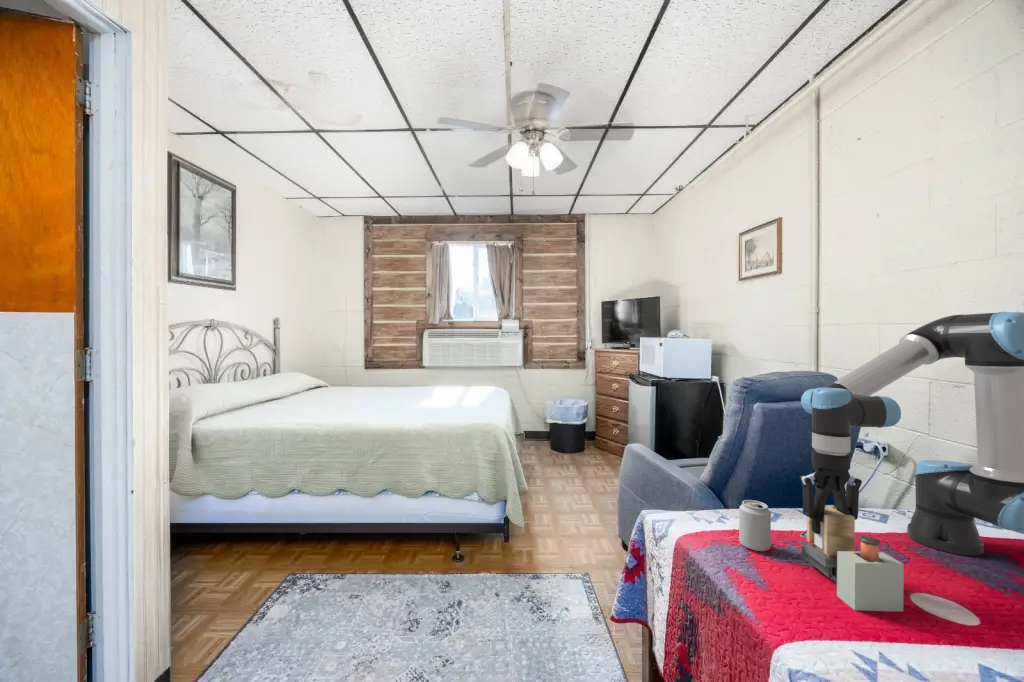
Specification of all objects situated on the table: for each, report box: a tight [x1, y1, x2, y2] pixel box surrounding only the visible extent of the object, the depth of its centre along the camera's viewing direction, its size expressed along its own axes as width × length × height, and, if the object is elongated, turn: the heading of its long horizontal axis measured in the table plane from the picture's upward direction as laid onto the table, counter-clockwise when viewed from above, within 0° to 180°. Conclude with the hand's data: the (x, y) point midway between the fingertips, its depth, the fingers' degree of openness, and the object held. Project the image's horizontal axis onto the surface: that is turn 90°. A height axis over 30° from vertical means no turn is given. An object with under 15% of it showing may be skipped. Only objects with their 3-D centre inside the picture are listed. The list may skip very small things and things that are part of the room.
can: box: [738, 499, 772, 552], centre depth 115 cm, size 8×8×12 cm
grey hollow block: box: [836, 550, 905, 613], centre depth 90 cm, size 10×5×10 cm, turn 89°
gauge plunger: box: [858, 534, 881, 561], centre depth 90 cm, size 3×3×4 cm
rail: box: [801, 545, 837, 585], centre depth 101 cm, size 3×17×3 cm, turn 179°
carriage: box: [804, 504, 856, 578], centre depth 102 cm, size 7×7×14 cm
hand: (829, 546), depth 102 cm, fingers closed on carriage, 4 cm apart
